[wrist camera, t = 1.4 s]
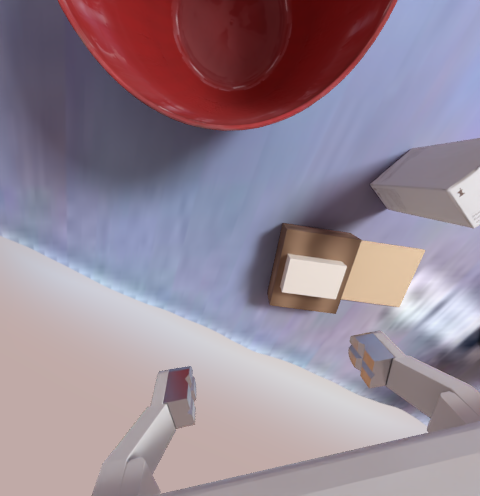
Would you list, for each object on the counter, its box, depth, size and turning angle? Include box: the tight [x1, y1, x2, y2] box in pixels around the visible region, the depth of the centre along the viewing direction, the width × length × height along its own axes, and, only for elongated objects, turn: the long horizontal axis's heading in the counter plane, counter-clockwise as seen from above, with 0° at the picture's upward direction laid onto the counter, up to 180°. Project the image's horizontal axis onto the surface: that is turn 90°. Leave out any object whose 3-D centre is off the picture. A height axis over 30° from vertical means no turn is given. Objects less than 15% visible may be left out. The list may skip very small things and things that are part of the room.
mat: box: [341, 240, 425, 307], centre depth 42 cm, size 14×12×1 cm
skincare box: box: [370, 138, 480, 228], centre depth 29 cm, size 8×6×15 cm
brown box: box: [267, 223, 362, 314], centre depth 40 cm, size 12×14×4 cm
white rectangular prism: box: [280, 254, 347, 299], centre depth 37 cm, size 9×6×2 cm, turn 81°
